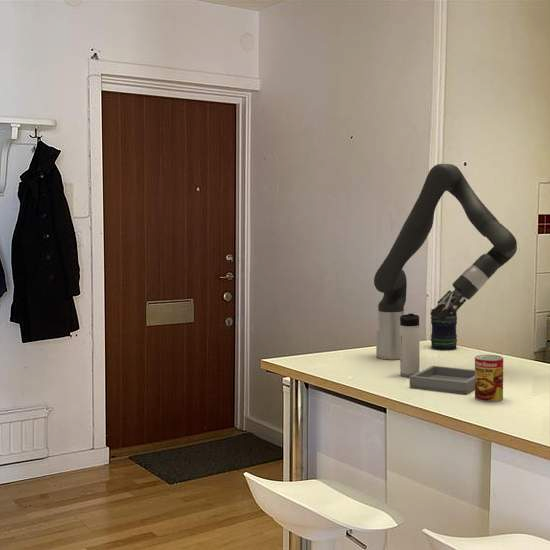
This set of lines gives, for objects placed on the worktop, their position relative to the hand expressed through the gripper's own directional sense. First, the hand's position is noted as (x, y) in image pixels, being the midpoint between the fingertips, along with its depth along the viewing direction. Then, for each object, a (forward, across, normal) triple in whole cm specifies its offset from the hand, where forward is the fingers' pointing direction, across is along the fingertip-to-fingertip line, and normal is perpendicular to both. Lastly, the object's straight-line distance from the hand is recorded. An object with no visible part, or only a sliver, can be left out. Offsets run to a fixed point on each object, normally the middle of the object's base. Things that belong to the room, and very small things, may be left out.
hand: (435, 317), depth 259 cm
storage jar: (+3, -45, +24) cm, 51 cm away
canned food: (+9, +33, +18) cm, 39 cm away
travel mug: (+20, 0, +7) cm, 21 cm away
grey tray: (+13, +15, +13) cm, 24 cm away
